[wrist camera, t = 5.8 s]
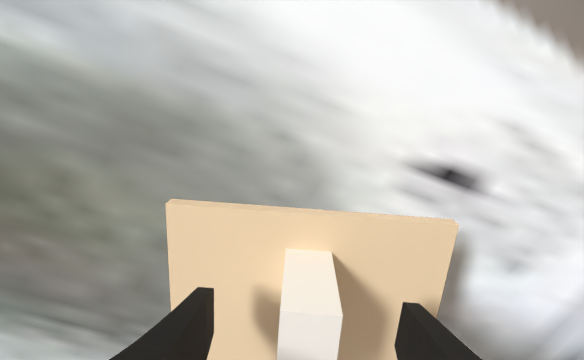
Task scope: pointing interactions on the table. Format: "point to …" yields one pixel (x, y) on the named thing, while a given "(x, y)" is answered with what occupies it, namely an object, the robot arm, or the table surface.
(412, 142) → the table surface
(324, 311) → the lid
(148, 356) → the robot arm
